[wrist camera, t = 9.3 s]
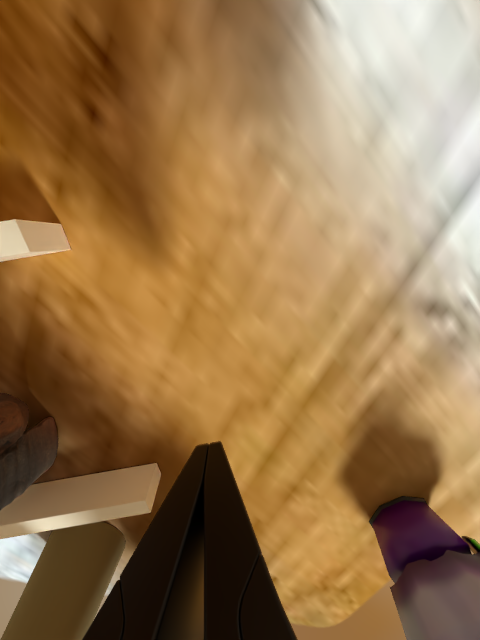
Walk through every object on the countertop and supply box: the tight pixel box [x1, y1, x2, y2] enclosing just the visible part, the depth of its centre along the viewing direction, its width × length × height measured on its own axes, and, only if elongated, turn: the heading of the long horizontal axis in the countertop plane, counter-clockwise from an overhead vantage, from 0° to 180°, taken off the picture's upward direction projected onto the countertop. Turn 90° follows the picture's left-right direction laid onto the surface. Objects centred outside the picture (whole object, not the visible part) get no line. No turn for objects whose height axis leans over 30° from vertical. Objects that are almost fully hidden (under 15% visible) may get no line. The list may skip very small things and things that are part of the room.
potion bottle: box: [369, 496, 480, 640], centre depth 15 cm, size 9×9×12 cm
